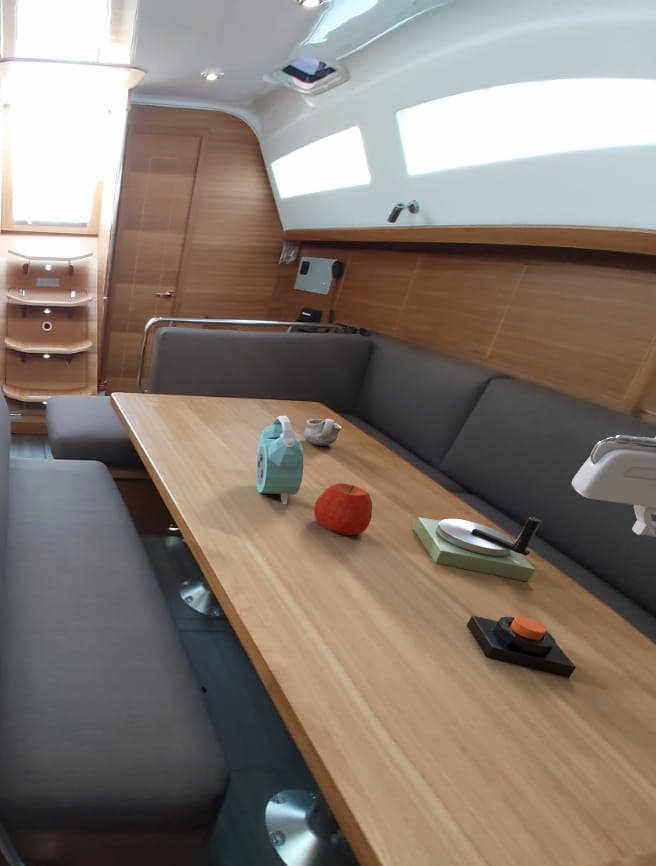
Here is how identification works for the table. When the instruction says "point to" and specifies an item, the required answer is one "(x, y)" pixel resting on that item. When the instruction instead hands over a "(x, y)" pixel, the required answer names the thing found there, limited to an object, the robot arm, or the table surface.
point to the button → (528, 628)
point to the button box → (519, 646)
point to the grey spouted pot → (321, 431)
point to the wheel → (486, 537)
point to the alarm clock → (279, 460)
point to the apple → (344, 509)
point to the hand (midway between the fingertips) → (648, 534)
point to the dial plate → (470, 555)
